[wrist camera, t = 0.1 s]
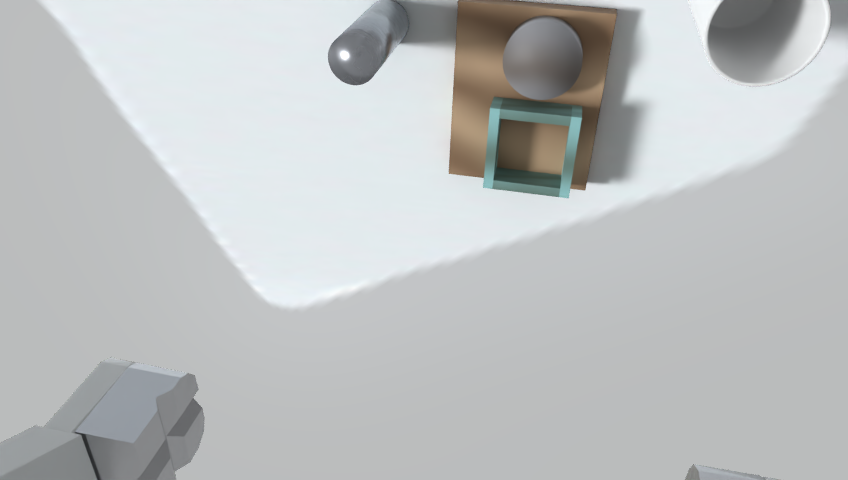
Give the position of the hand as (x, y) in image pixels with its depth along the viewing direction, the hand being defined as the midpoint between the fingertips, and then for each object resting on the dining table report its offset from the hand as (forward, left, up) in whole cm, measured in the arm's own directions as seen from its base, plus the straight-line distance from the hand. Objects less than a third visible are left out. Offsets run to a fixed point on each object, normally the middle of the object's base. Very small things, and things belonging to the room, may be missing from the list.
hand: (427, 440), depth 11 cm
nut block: (+12, -1, -48) cm, 50 cm away
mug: (+1, +14, -48) cm, 50 cm away
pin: (+7, -13, -48) cm, 50 cm away
